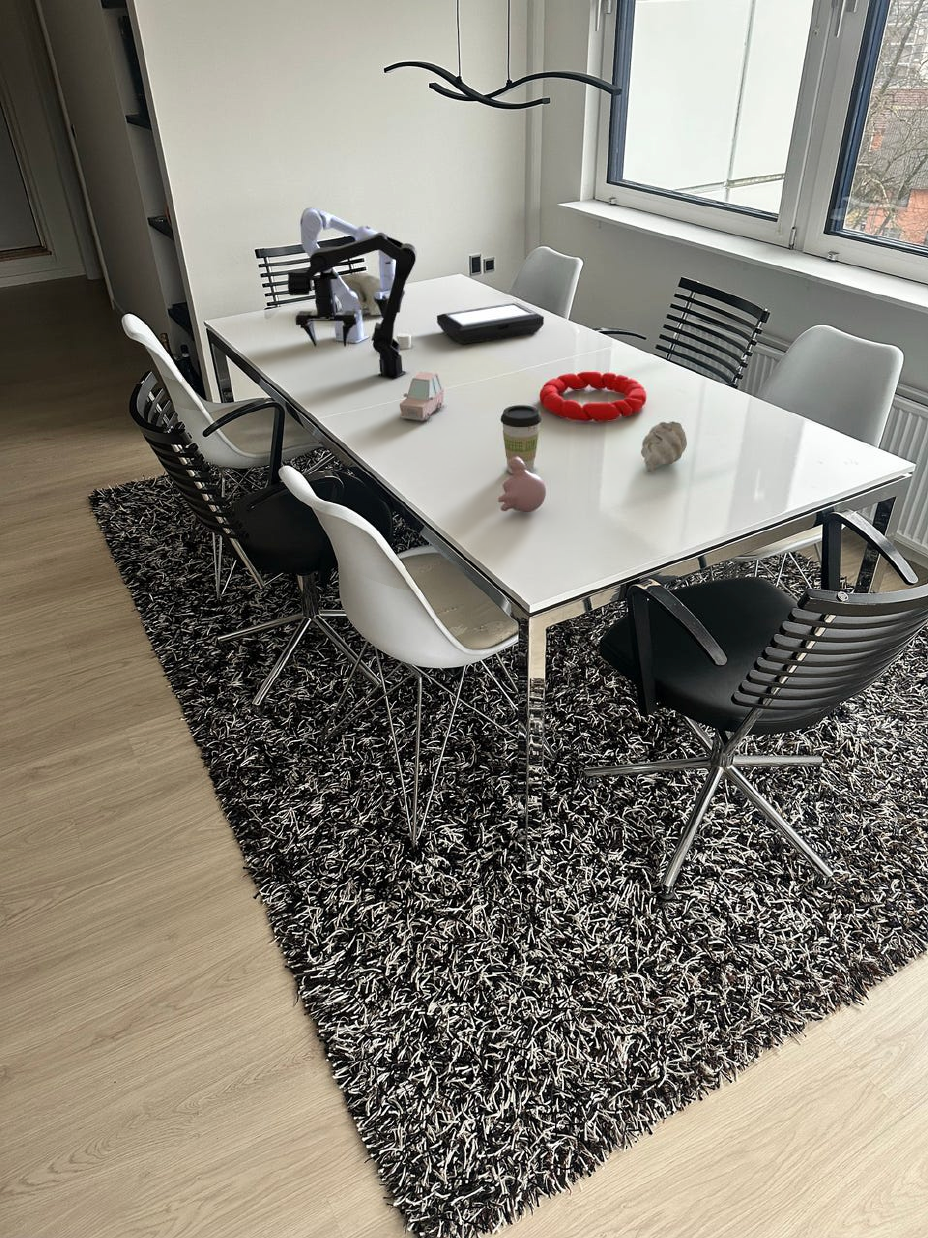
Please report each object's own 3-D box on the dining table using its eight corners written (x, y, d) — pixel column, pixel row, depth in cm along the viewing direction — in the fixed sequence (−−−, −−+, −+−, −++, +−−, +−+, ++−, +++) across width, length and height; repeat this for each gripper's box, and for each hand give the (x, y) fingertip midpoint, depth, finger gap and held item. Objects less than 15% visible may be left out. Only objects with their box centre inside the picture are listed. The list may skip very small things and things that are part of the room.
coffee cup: (511, 481, 215) (511, 422, 206) (494, 465, 222) (493, 408, 214) (547, 473, 218) (549, 414, 209) (529, 458, 225) (530, 401, 217)
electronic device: (459, 327, 297) (436, 313, 313) (460, 346, 301) (437, 331, 316) (543, 314, 308) (517, 300, 323) (543, 332, 311) (517, 318, 326)
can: (394, 347, 303) (393, 334, 301) (405, 343, 306) (404, 331, 303) (403, 350, 300) (402, 337, 298) (414, 346, 303) (413, 334, 300)
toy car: (396, 421, 248) (393, 386, 242) (418, 402, 260) (416, 368, 254) (427, 425, 245) (425, 390, 239) (448, 405, 257) (447, 371, 251)
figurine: (490, 509, 203) (489, 460, 196) (532, 497, 207) (532, 449, 201) (510, 525, 197) (510, 475, 190) (552, 512, 201) (554, 463, 194)
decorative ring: (525, 401, 245) (634, 402, 234) (555, 365, 268) (655, 365, 258) (527, 426, 249) (634, 428, 238) (556, 389, 272) (655, 390, 261)
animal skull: (363, 342, 338) (386, 304, 323) (318, 293, 338) (340, 252, 323) (389, 330, 349) (414, 293, 335) (347, 283, 350) (369, 244, 335)
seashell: (697, 464, 220) (702, 426, 214) (648, 478, 214) (652, 439, 208) (671, 449, 227) (675, 412, 222) (623, 462, 222) (626, 424, 216)
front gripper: (360, 286, 272) (364, 338, 281) (300, 287, 274) (306, 338, 282) (353, 296, 263) (358, 349, 272) (291, 297, 265) (298, 349, 273)
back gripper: (386, 280, 295) (389, 321, 303) (409, 270, 305) (411, 310, 313) (368, 278, 298) (372, 319, 306) (391, 268, 308) (394, 308, 316)
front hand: (330, 346), depth 275 cm, fingers open, 9 cm apart
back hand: (391, 315), depth 310 cm, fingers open, 7 cm apart
